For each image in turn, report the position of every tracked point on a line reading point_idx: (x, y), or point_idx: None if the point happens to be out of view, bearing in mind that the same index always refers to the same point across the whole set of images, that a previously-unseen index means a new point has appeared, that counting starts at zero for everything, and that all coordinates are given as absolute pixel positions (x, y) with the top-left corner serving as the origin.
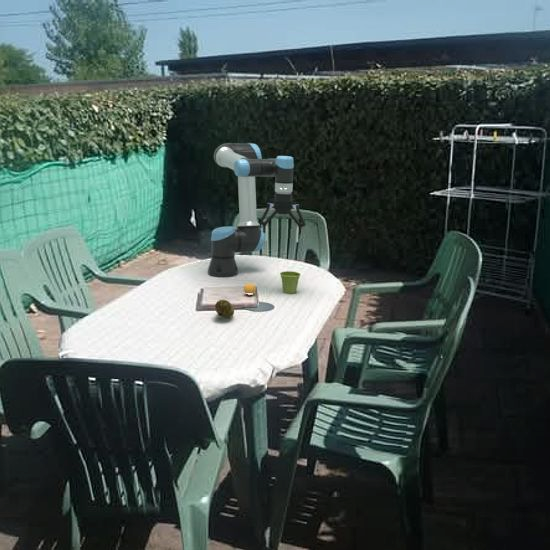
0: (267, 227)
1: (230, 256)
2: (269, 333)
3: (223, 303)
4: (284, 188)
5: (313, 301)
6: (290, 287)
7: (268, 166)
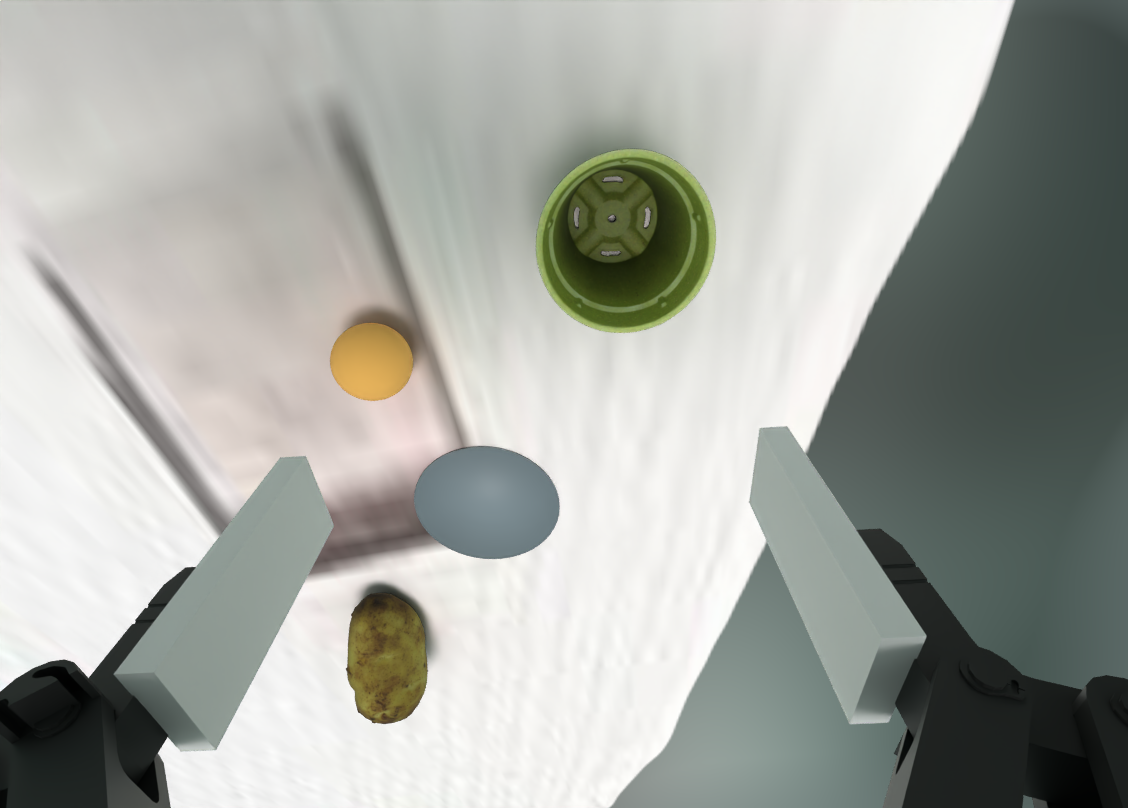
0: (222, 705)
1: None
2: (580, 702)
3: (390, 722)
4: None
5: (756, 378)
6: (624, 281)
7: None
